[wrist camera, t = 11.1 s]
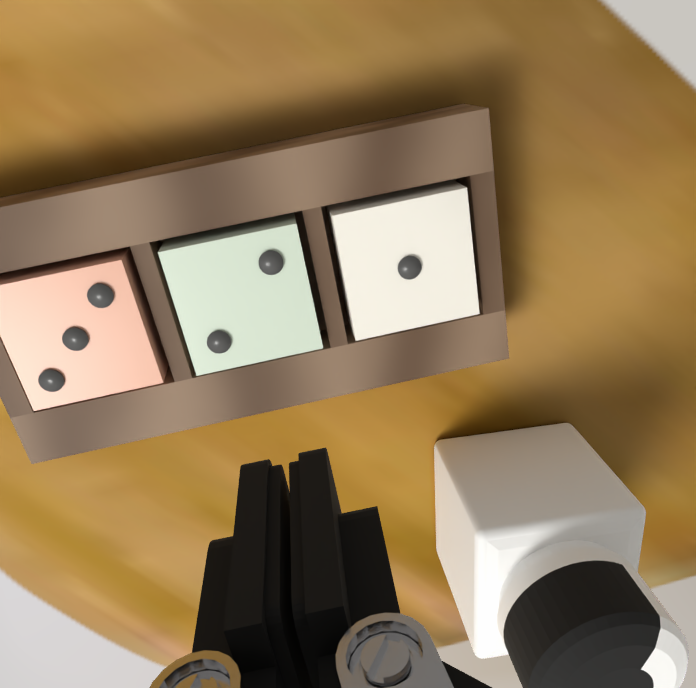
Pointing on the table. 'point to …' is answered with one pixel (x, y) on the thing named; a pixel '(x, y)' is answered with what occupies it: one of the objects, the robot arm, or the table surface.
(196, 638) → the robot arm
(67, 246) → the button board
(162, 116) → the table surface
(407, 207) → the button one cream
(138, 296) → the button three terracotta
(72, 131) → the table surface
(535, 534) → the medicine bottle
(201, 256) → the button two sage
